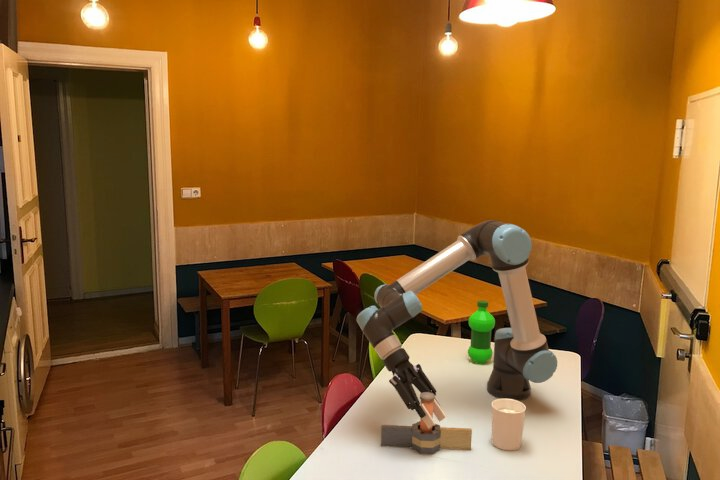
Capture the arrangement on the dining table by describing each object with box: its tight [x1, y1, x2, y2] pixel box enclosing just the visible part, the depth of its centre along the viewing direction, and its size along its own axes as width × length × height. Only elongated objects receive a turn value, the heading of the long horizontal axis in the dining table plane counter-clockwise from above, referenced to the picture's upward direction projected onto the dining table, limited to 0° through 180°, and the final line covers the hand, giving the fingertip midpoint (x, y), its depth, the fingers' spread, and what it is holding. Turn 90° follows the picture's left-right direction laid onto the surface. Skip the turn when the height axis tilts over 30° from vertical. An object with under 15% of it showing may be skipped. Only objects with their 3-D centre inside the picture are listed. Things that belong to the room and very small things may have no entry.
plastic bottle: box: [467, 300, 496, 365], centre depth 238 cm, size 10×10×25 cm
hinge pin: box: [419, 392, 436, 432], centre depth 170 cm, size 4×4×16 cm
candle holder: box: [491, 398, 527, 451], centre depth 173 cm, size 10×10×12 cm
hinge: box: [380, 420, 473, 455], centre depth 171 cm, size 26×8×6 cm, turn 87°
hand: (437, 422), depth 168 cm, fingers open, 5 cm apart
